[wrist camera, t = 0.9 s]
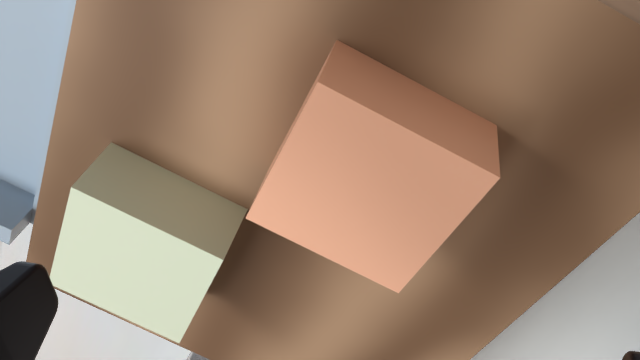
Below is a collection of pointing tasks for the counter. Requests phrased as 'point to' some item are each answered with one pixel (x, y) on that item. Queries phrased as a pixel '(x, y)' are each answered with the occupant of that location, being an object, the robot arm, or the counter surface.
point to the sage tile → (142, 241)
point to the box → (28, 101)
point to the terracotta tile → (376, 170)
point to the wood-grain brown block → (279, 114)
